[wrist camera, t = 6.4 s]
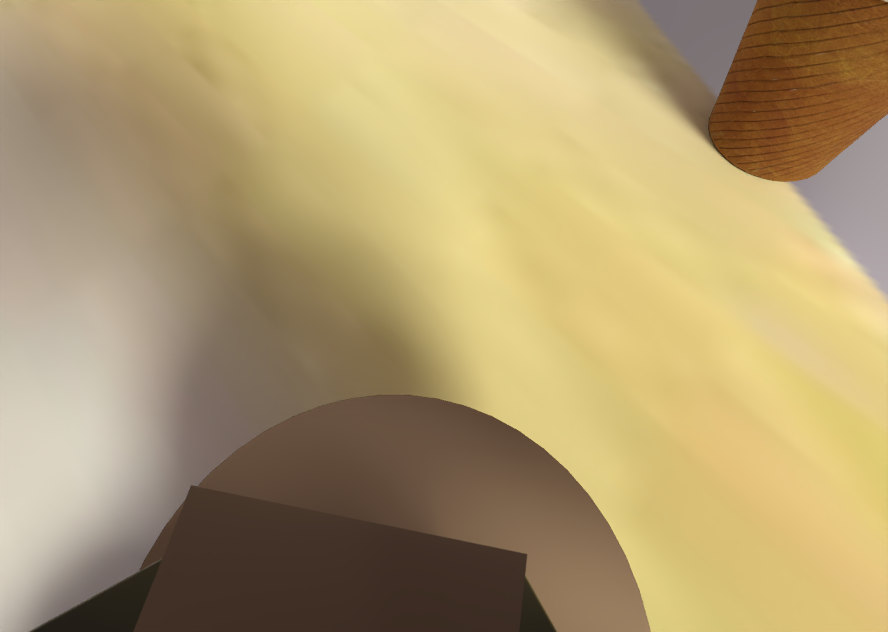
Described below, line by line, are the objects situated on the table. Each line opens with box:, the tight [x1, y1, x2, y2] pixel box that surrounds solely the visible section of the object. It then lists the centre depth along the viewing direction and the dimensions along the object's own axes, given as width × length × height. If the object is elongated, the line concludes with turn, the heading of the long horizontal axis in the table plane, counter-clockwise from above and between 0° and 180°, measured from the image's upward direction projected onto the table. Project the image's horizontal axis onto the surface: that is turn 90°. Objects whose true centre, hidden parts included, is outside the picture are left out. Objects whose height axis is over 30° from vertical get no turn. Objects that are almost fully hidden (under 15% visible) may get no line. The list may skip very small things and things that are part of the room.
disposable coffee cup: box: [709, 0, 888, 182], centre depth 24 cm, size 10×10×12 cm
